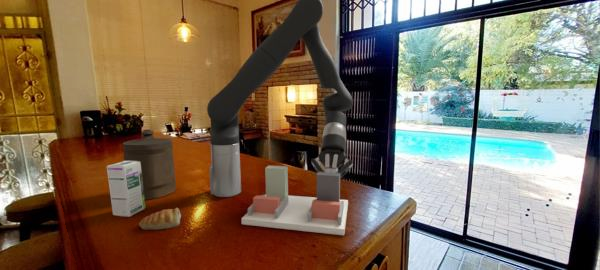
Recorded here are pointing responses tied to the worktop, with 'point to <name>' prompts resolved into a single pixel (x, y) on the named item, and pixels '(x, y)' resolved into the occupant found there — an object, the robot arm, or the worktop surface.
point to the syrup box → (126, 188)
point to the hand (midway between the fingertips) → (329, 189)
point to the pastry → (161, 220)
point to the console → (298, 214)
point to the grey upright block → (328, 186)
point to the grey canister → (153, 163)
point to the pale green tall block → (276, 181)
